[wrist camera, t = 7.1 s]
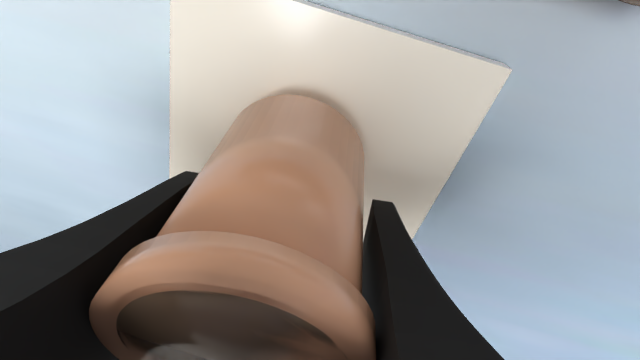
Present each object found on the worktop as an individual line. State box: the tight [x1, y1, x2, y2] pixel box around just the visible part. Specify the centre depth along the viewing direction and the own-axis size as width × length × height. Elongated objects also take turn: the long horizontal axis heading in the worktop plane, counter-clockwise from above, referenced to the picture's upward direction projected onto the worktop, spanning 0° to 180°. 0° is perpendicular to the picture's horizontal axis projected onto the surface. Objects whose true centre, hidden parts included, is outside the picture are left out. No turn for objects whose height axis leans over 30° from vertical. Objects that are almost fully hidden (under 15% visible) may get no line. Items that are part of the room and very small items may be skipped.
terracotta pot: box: [89, 94, 376, 360], centre depth 9 cm, size 6×6×7 cm
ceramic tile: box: [170, 0, 512, 240], centre depth 14 cm, size 11×11×1 cm
